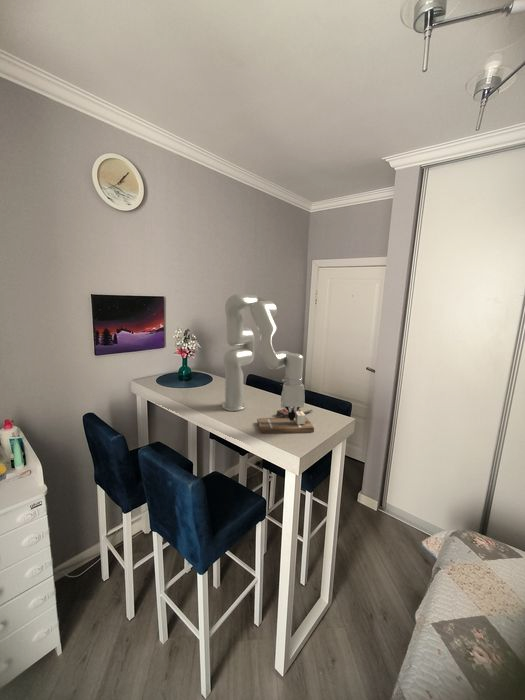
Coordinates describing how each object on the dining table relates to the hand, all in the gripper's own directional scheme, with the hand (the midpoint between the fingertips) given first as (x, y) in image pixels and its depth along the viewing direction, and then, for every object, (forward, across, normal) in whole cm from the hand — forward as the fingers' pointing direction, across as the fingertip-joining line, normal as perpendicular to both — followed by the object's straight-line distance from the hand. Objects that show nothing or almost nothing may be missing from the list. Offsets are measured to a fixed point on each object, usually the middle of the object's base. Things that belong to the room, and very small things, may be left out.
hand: (291, 419), depth 142 cm
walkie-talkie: (+4, +5, +16) cm, 17 cm away
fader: (+1, +4, 0) cm, 4 cm away
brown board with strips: (+4, -3, 0) cm, 5 cm away
